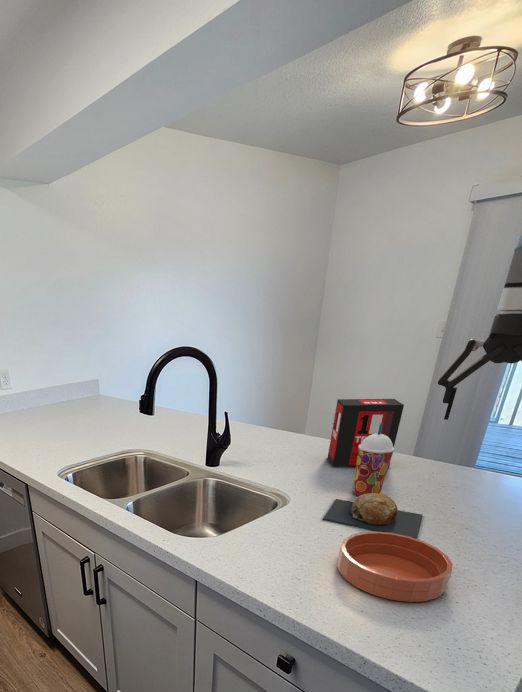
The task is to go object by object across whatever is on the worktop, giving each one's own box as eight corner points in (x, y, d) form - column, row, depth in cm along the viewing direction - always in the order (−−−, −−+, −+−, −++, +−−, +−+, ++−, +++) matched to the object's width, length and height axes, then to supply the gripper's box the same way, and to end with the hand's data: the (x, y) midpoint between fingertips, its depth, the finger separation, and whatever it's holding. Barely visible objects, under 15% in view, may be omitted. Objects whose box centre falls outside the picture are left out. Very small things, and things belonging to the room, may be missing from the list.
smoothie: (376, 488, 125) (392, 419, 116) (387, 500, 118) (405, 427, 109) (345, 488, 126) (359, 419, 117) (354, 499, 119) (369, 427, 110)
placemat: (422, 515, 109) (422, 514, 109) (416, 539, 99) (416, 537, 99) (335, 500, 120) (336, 498, 120) (322, 519, 110) (323, 518, 110)
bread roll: (344, 523, 114) (339, 501, 109) (374, 501, 115) (370, 478, 110) (377, 540, 106) (373, 516, 101) (409, 516, 106) (406, 491, 102)
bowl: (447, 566, 89) (454, 545, 86) (441, 616, 76) (449, 593, 73) (347, 543, 99) (351, 524, 97) (327, 583, 86) (331, 562, 84)
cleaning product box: (332, 467, 142) (343, 405, 133) (327, 458, 150) (337, 399, 141) (388, 468, 138) (404, 404, 129) (380, 459, 146) (394, 398, 137)
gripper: (608, 308, 80) (561, 423, 89) (443, 313, 93) (418, 412, 103) (617, 310, 74) (566, 431, 84) (441, 315, 88) (414, 419, 98)
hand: (484, 421), depth 94 cm, fingers open, 13 cm apart
